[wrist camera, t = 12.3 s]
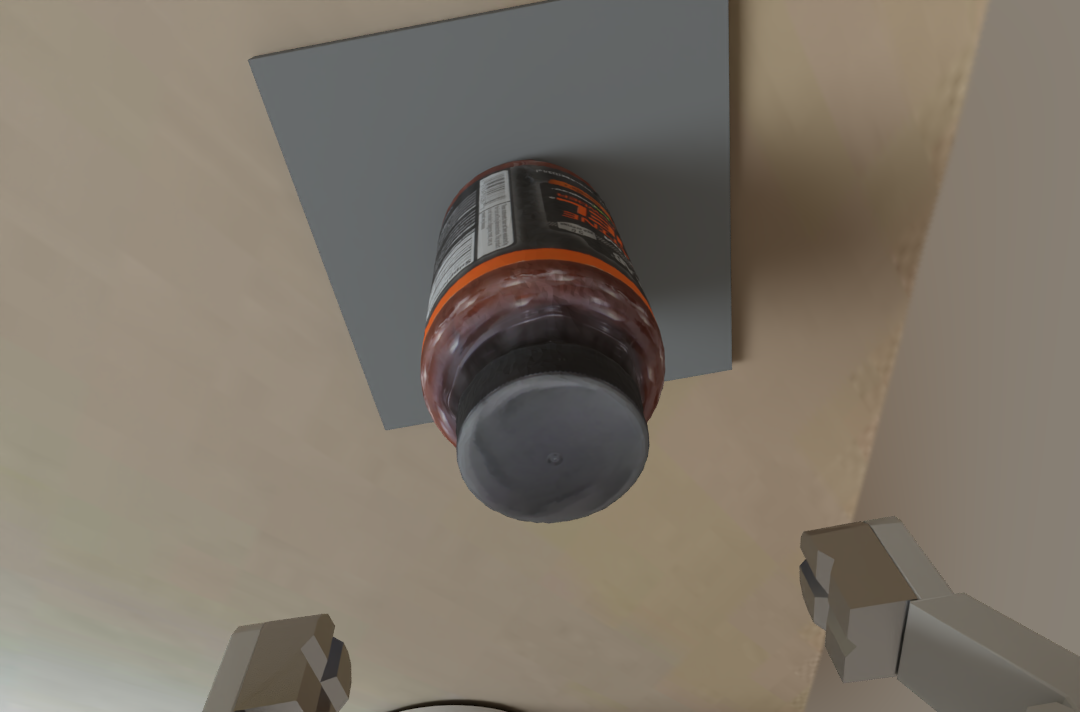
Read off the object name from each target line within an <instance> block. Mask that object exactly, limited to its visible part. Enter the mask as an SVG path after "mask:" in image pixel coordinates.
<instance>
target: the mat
mask: <svg viewBox="0 0 1080 712" xmlns="http://www.w3.org/2000/svg"><path fill="white" fill-rule="evenodd" d="M248 62H249V65H250V67H251V70H252V73H253V75H254V78H255V81H256V83H257V86H258V89H259V92H260V94H261V97H262V100H263V102H264V105H265V108H266V110H267V113H268V116H269V118H270V121H271V124H272V127H273V129H274V132H275V135H276V137H277V140H278V143H279V145H280V148H281V151H282V153H283V156H284V159H285V161H286V164H287V167H288V170H289V172H290V175H291V178H292V180H293V183H294V186H295V188H296V191H297V194H298V196H299V199H300V202H301V205H302V207H303V210H304V213H305V215H306V218H307V221H308V223H309V226H310V229H311V231H312V234H313V237H314V240H315V242H316V245H317V248H318V250H319V253H320V256H321V258H322V261H323V264H324V266H325V269H326V272H327V274H328V277H329V280H330V283H331V285H332V288H333V291H334V293H335V296H336V299H337V301H338V304H339V307H340V309H341V312H342V315H343V318H344V320H345V323H346V326H347V328H348V331H349V334H350V336H351V339H352V342H353V344H354V347H355V350H356V352H357V355H358V358H359V361H360V363H361V366H362V369H363V371H364V374H365V377H366V379H367V382H368V385H369V387H370V390H371V393H372V396H373V398H374V401H375V404H376V406H377V409H378V412H379V414H380V417H381V420H382V422H383V425H384V428H385V430H390V429H396V428H401V427H407V426H413V425H419V424H424V423H430V422H434V421H433V419H432V417H431V415H430V413H429V411H428V409H427V406H426V404H425V400H424V397H423V391H422V385H421V354H422V347H423V339H424V331H425V325H426V318H427V312H428V306H429V299H430V292H431V285H432V279H433V273H434V265H435V259H436V253H437V246H438V240H439V234H440V230H441V227H442V223H443V220H444V217H445V214H446V212H447V209H448V207H449V206H450V204H451V202H452V201H453V199H454V198H455V196H456V195H457V194H458V192H459V191H460V190H461V189H462V188H463V187H464V186H465V185H466V184H467V183H468V182H469V181H471V180H472V179H473V178H474V177H476V176H477V175H479V174H480V173H482V172H484V171H486V170H488V169H490V168H492V167H495V166H498V165H501V164H504V163H508V162H512V161H519V160H535V161H543V162H547V163H551V164H555V165H558V166H561V167H563V168H565V169H568V170H570V171H571V172H573V173H575V174H576V175H578V176H579V177H581V178H582V179H584V180H585V181H586V182H587V183H588V184H590V185H591V187H592V188H593V189H594V190H595V191H596V193H598V194H599V196H600V198H601V199H602V200H603V201H604V203H605V206H606V207H607V209H608V210H609V212H610V214H611V217H612V219H613V221H614V223H615V226H616V228H617V230H618V232H619V234H620V237H621V240H622V242H623V244H624V246H625V249H626V252H627V254H628V256H629V258H630V260H631V263H632V266H633V268H634V271H635V272H636V274H637V276H638V278H639V281H640V284H641V286H642V289H643V291H644V293H645V295H646V297H647V299H648V301H649V304H650V307H651V310H652V312H653V315H654V317H655V320H656V322H657V324H658V327H659V330H660V333H661V338H662V341H663V346H664V351H665V376H664V381H669V380H675V379H681V378H687V377H692V376H698V375H704V374H709V373H715V372H721V371H726V370H732V334H731V230H730V127H729V23H728V0H547V1H542V2H536V3H531V4H526V5H521V6H515V7H510V8H505V9H500V10H495V11H489V12H484V13H479V14H474V15H468V16H463V17H458V18H453V19H448V20H442V21H437V22H432V23H427V24H421V25H416V26H411V27H406V28H401V29H395V30H390V31H385V32H380V33H374V34H369V35H364V36H359V37H354V38H348V39H343V40H338V41H333V42H327V43H322V44H317V45H312V46H307V47H301V48H296V49H291V50H286V51H280V52H275V53H270V54H265V55H260V56H254V57H252V58H251V59H249V60H248Z"/></svg>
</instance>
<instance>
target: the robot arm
mask: <svg viewBox="0 0 1080 712" xmlns="http://www.w3.org/2000/svg"><path fill="white" fill-rule="evenodd" d="M800 548H801V550H802V552H803V554H804V556H805V558H806V559H805V561H804V562H803V563H802V564H801V565H800V585H801V590H802V595H803V598H804V601H805V604H806V607H807V609H808V612H809V614H810V616H811V618H812V620H813V622H814V623H815V624H816V625H818V626H819V627H821V628H822V629H824V630H825V631H826V638H825V647H826V649H827V651H828V654H829V656H830V658H831V660H832V662H833V664H834V666H835V668H836V670H837V672H838V674H839V676H840V678H841V680H842V682H843V683H849V682H857V681H864V680H872V679H879V678H887V677H894V676H897V679H898V680H899V681H900V682H901V683H903V684H904V685H905V686H906V687H907V688H909V689H910V690H911V691H912V692H914V693H915V694H916V695H917V696H919V697H920V698H921V699H922V700H924V701H925V702H926V703H927V704H928V705H930V706H931V707H932V708H933V709H935V710H936V711H937V712H1080V657H1079V656H1078V655H1076V654H1074V653H1072V652H1070V651H1068V650H1067V649H1065V648H1063V647H1061V646H1059V645H1057V644H1056V643H1054V642H1052V641H1050V640H1049V639H1047V638H1045V637H1043V636H1041V635H1039V634H1038V633H1036V632H1034V631H1032V630H1031V629H1029V628H1027V627H1025V626H1023V625H1021V624H1019V623H1018V622H1016V621H1014V620H1012V619H1011V618H1009V617H1007V616H1005V615H1003V614H1002V613H1000V612H998V611H996V610H994V609H992V608H991V607H989V606H987V605H985V604H984V603H982V602H980V601H978V600H976V599H974V598H973V597H971V596H969V595H967V594H965V593H958V594H954V593H953V591H952V590H951V588H950V587H949V586H948V584H947V583H946V582H945V580H944V579H943V577H942V576H941V575H940V573H939V572H938V571H937V569H936V568H935V567H934V565H933V564H932V562H931V561H930V560H929V558H928V557H927V556H926V554H925V553H924V551H923V550H922V549H921V547H920V546H919V545H918V544H917V542H916V540H915V539H914V538H913V536H912V535H911V534H910V532H909V531H908V530H907V528H906V527H905V526H904V524H903V523H902V521H901V520H900V519H898V518H897V517H895V516H891V517H885V518H879V519H873V520H867V521H863V522H861V521H859V522H853V523H848V524H842V525H837V526H832V527H826V528H821V529H815V530H810V531H804V532H803V534H802V536H801V543H800ZM334 629H335V625H334V623H333V622H332V620H331V618H330V616H329V615H328V614H319V615H312V616H305V617H298V618H291V619H284V620H277V621H270V622H264V623H258V624H251V625H245V626H239V627H238V628H237V629H236V630H235V632H234V633H233V634H232V635H231V637H230V640H229V643H228V645H227V648H226V650H225V653H224V656H223V658H222V661H221V664H220V666H219V669H218V671H217V674H216V677H215V679H214V682H213V685H212V687H211V690H210V692H209V695H208V698H207V700H206V703H205V705H204V708H203V711H202V712H339V710H340V709H341V708H342V707H343V705H344V704H345V703H346V702H347V700H348V699H349V694H350V688H351V662H350V658H349V654H348V651H347V649H346V647H345V644H344V643H343V642H342V641H340V640H338V639H336V638H334V637H333V633H334ZM401 712H506V711H502V710H497V709H492V708H485V707H477V706H464V705H444V706H431V707H422V708H416V709H410V710H405V711H401Z"/></svg>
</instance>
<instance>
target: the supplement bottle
mask: <svg viewBox="0 0 1080 712" xmlns="http://www.w3.org/2000/svg"><path fill="white" fill-rule="evenodd" d="M664 376H665V351H664V346H663V341H662V338H661V333H660V330H659V327H658V324H657V322H656V320H655V317H654V315H653V312H652V310H651V307H650V304H649V301H648V299H647V297H646V295H645V293H644V291H643V289H642V286H641V284H640V281H639V278H638V276H637V274H636V272H635V271H634V268H633V266H632V263H631V260H630V258H629V256H628V254H627V252H626V249H625V246H624V244H623V242H622V240H621V237H620V234H619V232H618V230H617V228H616V226H615V223H614V221H613V219H612V217H611V214H610V212H609V210H608V209H607V207H606V206H605V203H604V201H603V200H602V199H601V198H600V196H599V194H598V193H596V191H595V190H594V189H593V188H592V187H591V185H590V184H588V183H587V182H586V181H585V180H584V179H582V178H581V177H579V176H578V175H576V174H575V173H573V172H571V171H570V170H568V169H565V168H563V167H561V166H558V165H555V164H551V163H547V162H543V161H535V160H519V161H512V162H508V163H504V164H501V165H498V166H495V167H492V168H490V169H488V170H486V171H484V172H482V173H480V174H479V175H477V176H476V177H474V178H473V179H472V180H471V181H469V182H468V183H467V184H466V185H465V186H464V187H463V188H462V189H461V190H460V191H459V192H458V194H457V195H456V196H455V198H454V199H453V201H452V202H451V204H450V206H449V207H448V209H447V212H446V214H445V217H444V220H443V223H442V227H441V230H440V234H439V240H438V246H437V253H436V259H435V265H434V273H433V279H432V285H431V292H430V299H429V306H428V312H427V318H426V325H425V331H424V339H423V347H422V354H421V385H422V391H423V397H424V400H425V404H426V406H427V409H428V411H429V413H430V415H431V417H432V419H433V421H434V422H435V424H436V425H437V427H438V428H439V430H440V431H441V432H442V434H443V435H444V436H445V437H446V438H447V439H448V440H449V441H450V442H451V443H452V444H453V445H454V446H455V447H456V450H457V462H458V466H459V469H460V472H461V475H462V478H463V480H464V481H465V483H466V485H467V487H468V488H469V490H470V491H471V492H472V493H473V494H474V495H475V497H476V498H477V499H479V500H480V501H481V502H483V503H484V504H485V505H486V506H487V507H489V508H490V509H492V510H494V511H497V512H500V513H501V514H503V515H505V516H507V517H511V518H514V519H517V520H521V521H531V522H535V523H541V522H544V523H555V522H562V521H570V520H574V519H579V518H582V517H586V516H589V515H591V514H593V513H595V512H598V511H600V510H603V509H605V508H606V507H608V506H609V505H610V504H612V503H613V502H615V501H616V500H617V499H619V498H620V497H621V496H622V495H623V494H624V493H626V492H627V491H628V490H629V489H630V487H631V486H632V485H633V484H634V483H635V482H636V480H637V478H638V477H639V476H640V474H641V472H642V470H643V469H644V465H645V462H646V460H647V457H648V450H649V433H648V427H647V422H648V420H649V419H650V418H651V416H652V414H653V412H654V410H655V408H656V406H657V404H658V401H659V398H660V395H661V391H662V389H663V384H664Z"/></svg>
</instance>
